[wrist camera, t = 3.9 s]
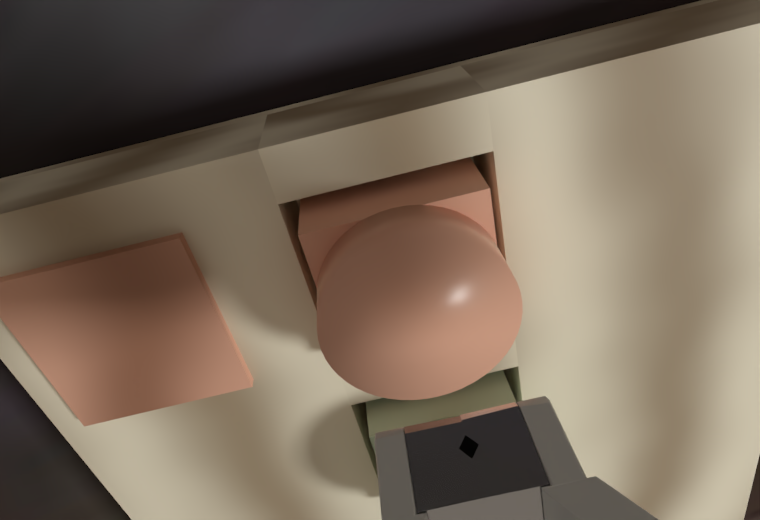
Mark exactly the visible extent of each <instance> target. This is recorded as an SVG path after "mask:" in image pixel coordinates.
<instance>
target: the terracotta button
mask: <svg viewBox="0 0 760 520" xmlns="http://www.w3.org/2000/svg"><path fill="white" fill-rule="evenodd" d="M298 237H299V240H300V243H301V246H302V248H303V251H304V254H305V257H306V260H307V263H308V265H309V268H310V271H311V274H312V277H313V279H314V282H315V285H316V288H317V335H318V341H319V345H320V348H321V351H322V353H323V355H324V357H325V359H326V361H327V362H328V364H329V365H330V367H331V368H332V369H333V370H334V371H335V372H336V373H337V374H338V375H339V376H340V377H341V378H342V379H343V380H345V381H346V382H347V383H349V384H350V385H352V386H354V387H355V388H357V389H359V390H362V391H364V392H366V393H369V394H372V395H375V396H378V397H383V398H388V399H396V400H420V399H428V398H434V397H439V396H442V395H446V394H449V393H452V392H455V391H457V390H460V389H462V388H464V387H466V386H468V385H470V384H472V383H474V382H475V381H477V380H478V379H480V378H482V377H483V376H484V375H486V374H487V373H488V372H489V371H491V370H492V369H493V368H494V367H495V366H496V365H497V364H498V363H499V362H500V361H501V360H502V359H503V357H504V356H505V355H506V354H507V353H508V351H509V349H510V348H511V346H512V345H513V343H514V341H515V339H516V337H517V334H518V332H519V328H520V325H521V320H522V313H523V306H522V297H521V292H520V289H519V286H518V283H517V281H516V279H515V277H514V275H513V274H512V272H511V270H510V268H509V266H508V265H507V263H506V261H505V259H504V257H503V256H502V254H501V252H500V250H499V248H498V247H497V240H496V232H495V224H494V216H493V208H492V200H491V192H490V187H489V186H488V184H487V183H486V181H485V180H484V178H483V177H482V175H481V173H480V172H479V170H478V169H477V167H476V166H475V164H474V163H473V161H472V160H471V158H470V157H468V158H464V159H459V160H455V161H451V162H447V163H443V164H439V165H435V166H431V167H427V168H423V169H419V170H415V171H411V172H407V173H403V174H399V175H395V176H391V177H387V178H383V179H379V180H375V181H371V182H367V183H363V184H359V185H354V186H350V187H346V188H342V189H338V190H334V191H330V192H326V193H322V194H318V195H314V196H310V197H306V198H302V199H300V211H299V226H298Z"/></svg>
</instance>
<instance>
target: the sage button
mask: <svg viewBox="0 0 760 520" xmlns="http://www.w3.org/2000/svg"><path fill="white" fill-rule="evenodd" d="M513 402H515V403H516V400H515V398H514V395H513V393H512V391H511V388H510V386H509V383H508V381H507V379H506V376H505V374H504V371H503V370H500V371H496V372H492V373H487V374H486V375H484V376H483V377H482V378H480V379H478V380H477V381H475V382H474V383H472V384H470V385H468V386H466V387H464V388H462V389H460V390H457V391H455V392H452V393H449V394H446V395H442V396H439V397H434V398H428V399H420V400H396V399H388V398H380V399H376V400H371V401H367V402H366V410H367V420H368V430H369V438H370V441H371V444H372V446H373V449H374V452H375V443H374V441H375V433H378V432H382V431H387V430H392V429H397V428H402V427H406V426H411V425H416V424H421V423H426V422H431V421H437V420H442V419H447V418H452V417H457V416H460V415H462V414H466V413H470V412H474V411H479V410H483V409H487V408H491V407H496V406H500V405H504V404H508V403H513ZM375 455H376V454H375Z"/></svg>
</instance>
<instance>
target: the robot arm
mask: <svg viewBox="0 0 760 520" xmlns="http://www.w3.org/2000/svg"><path fill="white" fill-rule="evenodd" d="M374 443H375V454H376V464H377V475H378V486H379V496H380V507H381V517H382V520H659V519H657V518H656V517H654V516H653V515H651V514H650V513H649V512H647V511H646V510H644V509H643V508H641V507H640V506H638V505H637V504H636V503H634V502H633V501H631V500H630V499H628V498H627V497H625V496H624V495H623V494H621V493H620V492H618V491H617V490H615V489H614V488H613V487H611V486H610V485H608V484H607V483H605V482H604V481H602V480H601V479H600V478H598V477H597V476H594V477H588V478H587V477H586V475H585V473H584V471H583V469H582V467H581V465H580V463H579V460H578V458H577V456H576V454H575V452H574V450H573V448H572V446H571V444H570V442H569V439H568V437H567V435H566V433H565V431H564V429H563V427H562V425H561V423H560V421H559V419H558V416H557V414H556V412H555V410H554V408H553V406H552V404H551V402H550V400H549V399H548V398H547V397H546V396H542V397H537V398H533V399H528V400H524V401H519V402H517V403H515V402H513V403H508V404H504V405H500V406H496V407H491V408H487V409H483V410H479V411H474V412H470V413H466V414H462V415H460V416H457V417H452V418H447V419H442V420H437V421H431V422H426V423H421V424H416V425H411V426H406V427H402V428H397V429H392V430H387V431H382V432H378V433H375V441H374Z"/></svg>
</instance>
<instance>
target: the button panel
mask: <svg viewBox="0 0 760 520" xmlns="http://www.w3.org/2000/svg"><path fill="white" fill-rule="evenodd" d="M468 157H470V158H471V160H472V161H473V163H474V164H475V166H476V167H477V169H478V170H479V172H480V173H481V175H482V177H483V178H484V180H485V181H486V183H487V184H488V186H489V187H490V192H491V200H492V208H493V216H494V224H495V232H496V240H497V247H498V248H499V250H500V252H501V254H502V256H503V257H504V259H505V261H506V263H507V265H508V266H509V268H510V270H511V272H512V274H513V275H514V277H515V279H516V281H517V283H518V286H519V289H520V292H521V297H522V306H523V313H522V320H521V325H520V328H519V332H518V334H517V337H516V339H515V341H514V343H513V345H512V346H511V348H510V349H509V351H508V353H507V354H506V355H505V356H504V357H503V359H502V360H501V361H500V362H499V363H498V364H497V365H496V366H495V367H494V368H493V369H492V370H491V371H489V372H488V373H492V372H496V371H500V370H503V371H504V374H505V376H506V379H507V381H508V383H509V386H510V388H511V391H512V393H513V395H514V398H515V400H516V403H517V402H519V401H524V400H528V399H533V398H537V397H542V396H546V397H547V398H548V399H549V400H550V402H551V404H552V406H553V408H554V410H555V412H556V414H557V416H558V419H559V421H560V423H561V425H562V427H563V429H564V431H565V433H566V435H567V437H568V439H569V442H570V444H571V446H572V448H573V450H574V452H575V454H576V456H577V458H578V460H579V463H580V465H581V467H582V469H583V471H584V473H585V475H586V477H587V478H588V477H594V476H597V477H598V478H600V479H601V480H602V481H604V482H605V483H607V484H608V485H610V486H611V487H613V488H614V489H615V490H617V491H618V492H620V493H621V494H623V495H624V496H625V497H627V498H628V499H630V500H631V501H633V502H634V503H636V504H637V505H638V506H640V507H641V508H643V509H644V510H646V511H647V512H649V513H650V514H651V515H653V516H654V517H656V518H657V519H659V520H744V516H745V512H746V508H747V504H748V500H749V496H750V492H751V487H752V483H753V479H754V475H755V471H756V467H757V463H758V459H759V455H760V0H701V1H697V2H693V3H689V4H685V5H681V6H677V7H673V8H669V9H665V10H661V11H657V12H653V13H650V14H646V15H642V16H638V17H634V18H630V19H626V20H622V21H618V22H614V23H610V24H606V25H602V26H598V27H594V28H590V29H587V30H583V31H579V32H575V33H571V34H567V35H563V36H559V37H555V38H551V39H547V40H543V41H539V42H535V43H531V44H528V45H524V46H520V47H516V48H512V49H508V50H504V51H500V52H496V53H492V54H488V55H484V56H480V57H476V58H472V59H469V60H465V61H461V62H457V63H453V64H449V65H445V66H441V67H437V68H433V69H429V70H425V71H421V72H417V73H413V74H410V75H406V76H402V77H398V78H394V79H390V80H386V81H382V82H378V83H374V84H370V85H366V86H362V87H358V88H354V89H351V90H347V91H343V92H339V93H335V94H331V95H327V96H323V97H319V98H315V99H311V100H307V101H303V102H299V103H295V104H291V105H288V106H284V107H280V108H276V109H272V110H268V111H264V112H260V113H256V114H252V115H248V116H244V117H240V118H236V119H232V120H229V121H225V122H221V123H217V124H213V125H209V126H205V127H201V128H197V129H193V130H189V131H185V132H181V133H177V134H173V135H170V136H166V137H162V138H158V139H154V140H150V141H146V142H142V143H138V144H134V145H130V146H126V147H122V148H118V149H114V150H111V151H107V152H103V153H99V154H95V155H91V156H87V157H83V158H79V159H75V160H71V161H67V162H63V163H59V164H55V165H51V166H48V167H44V168H40V169H36V170H32V171H28V172H24V173H20V174H16V175H12V176H8V177H4V178H0V359H1V360H2V361H3V363H4V364H5V365H6V366H7V368H8V369H9V370H10V371H11V372H12V374H13V375H14V376H15V377H16V379H17V380H18V381H19V382H20V383H21V385H22V386H23V387H24V388H25V390H26V391H27V392H28V393H29V394H30V396H31V397H32V398H33V399H34V401H35V402H36V403H37V404H38V406H39V407H40V408H41V409H42V410H43V412H44V413H45V414H46V415H47V417H48V418H49V419H50V420H51V421H52V423H53V424H54V425H55V426H56V428H57V429H58V430H59V431H60V433H61V434H62V435H63V436H64V437H65V439H66V440H67V441H68V442H69V444H70V445H71V446H72V447H73V448H74V450H75V451H76V452H77V453H78V455H79V456H80V457H81V458H82V459H83V461H84V462H85V463H86V464H87V466H88V467H89V468H90V469H91V471H92V472H93V473H94V474H95V475H96V477H97V478H98V479H99V480H100V482H101V483H102V484H103V485H104V486H105V488H106V489H107V490H108V491H109V493H110V494H111V495H112V496H113V497H114V499H115V500H116V501H117V502H118V504H119V505H120V506H121V507H122V509H123V510H124V511H125V512H126V513H127V515H128V516H129V517H130V518H131V520H382V517H381V507H380V496H379V486H378V475H377V464H376V455H375V452H374V449H373V446H372V444H371V441H370V438H369V430H368V420H367V410H366V402H367V401H371V400H376V399H380V398H383V397H378V396H375V395H372V394H369V393H366V392H364V391H362V390H359V389H357V388H355V387H354V386H352V385H350V384H349V383H347V382H346V381H345V380H343V379H342V378H341V377H340V376H339V375H338V374H337V373H336V372H335V371H334V370H333V369H332V368H331V367H330V365H329V364H328V362H327V361H326V359H325V357H324V355H323V353H322V351H321V348H320V345H319V341H318V335H317V288H316V285H315V282H314V279H313V277H312V274H311V271H310V268H309V265H308V263H307V260H306V257H305V254H304V251H303V248H302V246H301V243H300V240H299V237H298V226H299V211H300V199H302V198H306V197H310V196H314V195H318V194H322V193H326V192H330V191H334V190H338V189H342V188H346V187H350V186H354V185H359V184H363V183H367V182H371V181H375V180H379V179H383V178H387V177H391V176H395V175H399V174H403V173H407V172H411V171H415V170H419V169H423V168H427V167H431V166H435V165H439V164H443V163H447V162H451V161H455V160H459V159H464V158H468Z"/></svg>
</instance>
